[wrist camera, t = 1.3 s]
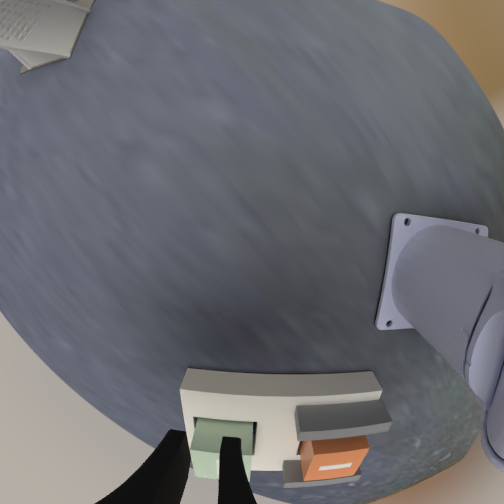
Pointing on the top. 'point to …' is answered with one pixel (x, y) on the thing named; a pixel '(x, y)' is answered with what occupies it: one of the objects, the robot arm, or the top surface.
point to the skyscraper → (41, 29)
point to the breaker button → (332, 457)
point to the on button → (218, 444)
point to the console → (287, 412)
